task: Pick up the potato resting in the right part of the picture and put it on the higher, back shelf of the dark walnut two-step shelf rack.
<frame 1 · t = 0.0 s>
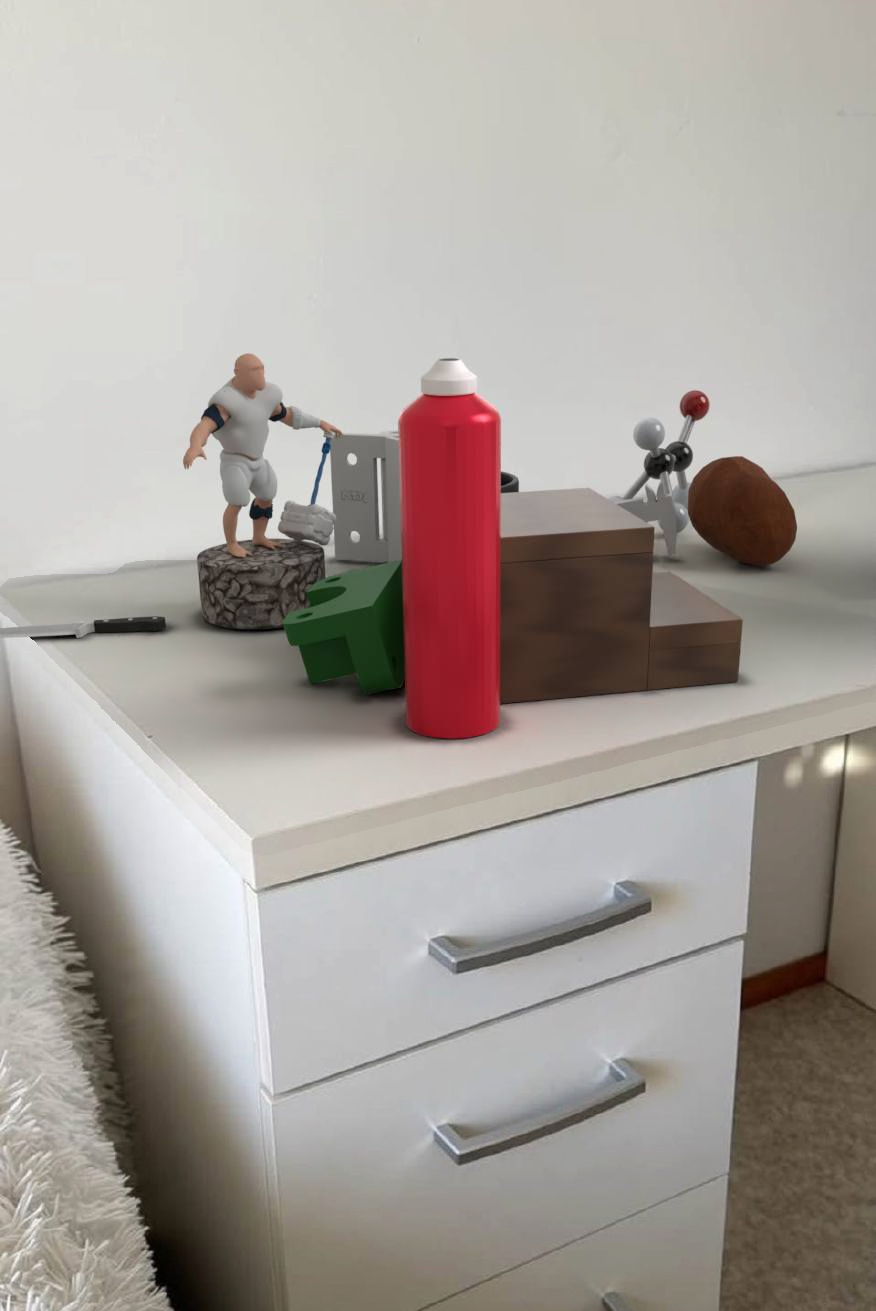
molecular model: (665, 521, 128), on the table
caliper: (550, 557, 117), on the table
step shelf: (584, 663, 92), on the table
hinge: (406, 569, 114), on the table
mug: (452, 621, 101), on the table
pottery shard: (509, 527, 127), on the table
clamp: (357, 673, 91), on the table
stylus pen: (612, 597, 106), on the table
knife: (56, 635, 98), on the table
figurine: (265, 616, 103), on the table
potato: (739, 556, 116), on the table
bottle: (453, 725, 82), on the table
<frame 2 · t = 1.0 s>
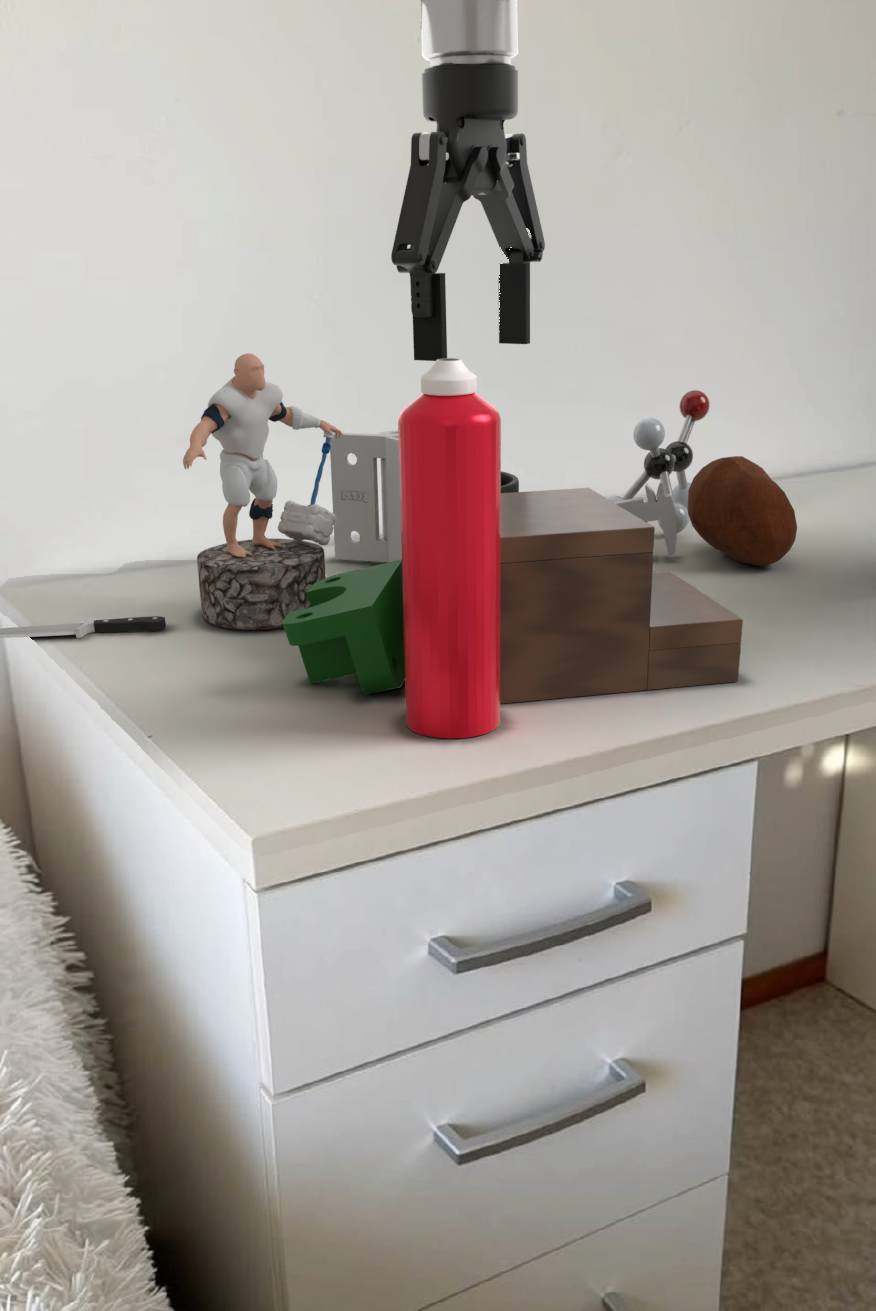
hand: (474, 351, 119), 15 cm above the table, tool pointing down, fingers open, 13 cm apart
nothing on the table moved.
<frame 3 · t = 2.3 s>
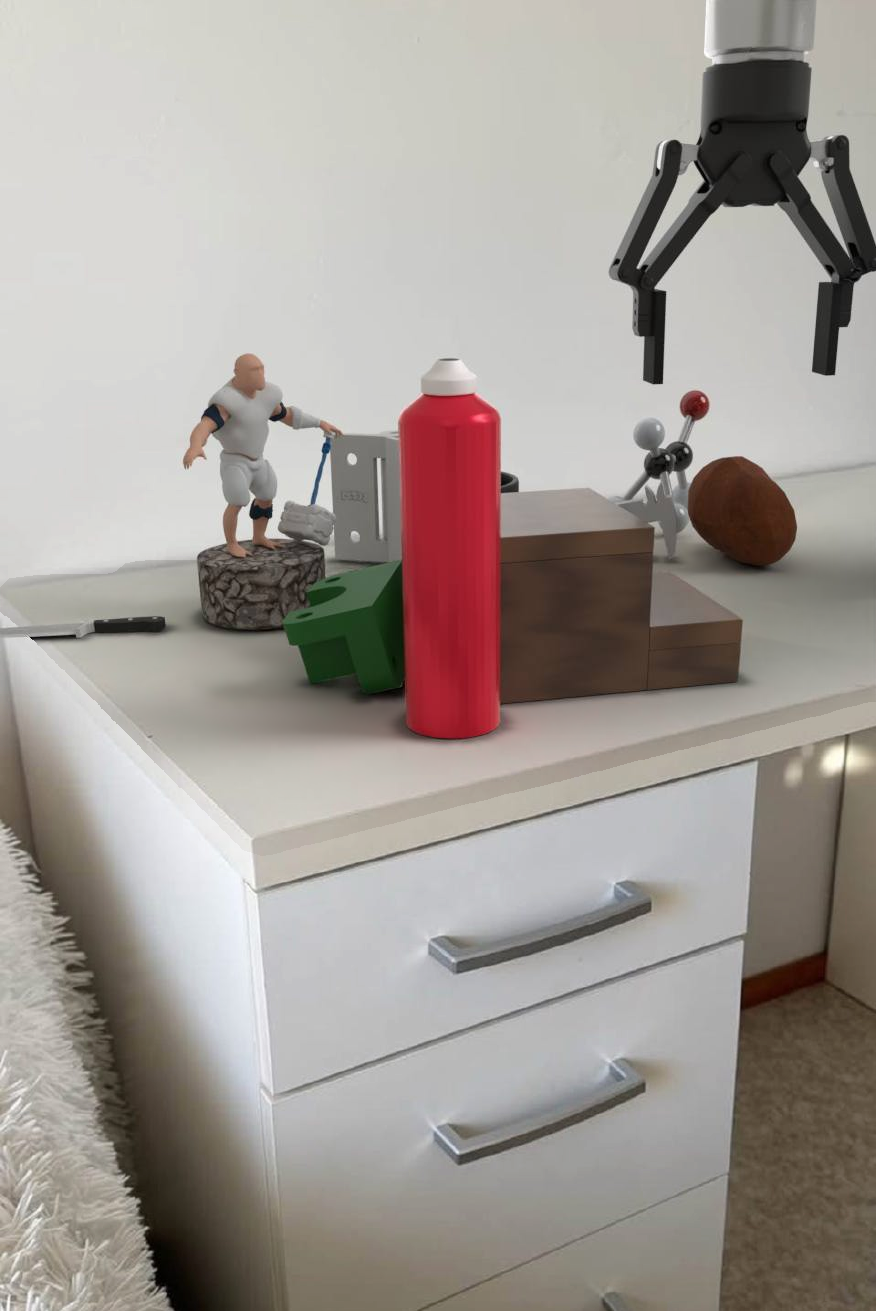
hand: (738, 378, 108), 14 cm above the table, tool pointing down, fingers open, 13 cm apart
nothing on the table moved.
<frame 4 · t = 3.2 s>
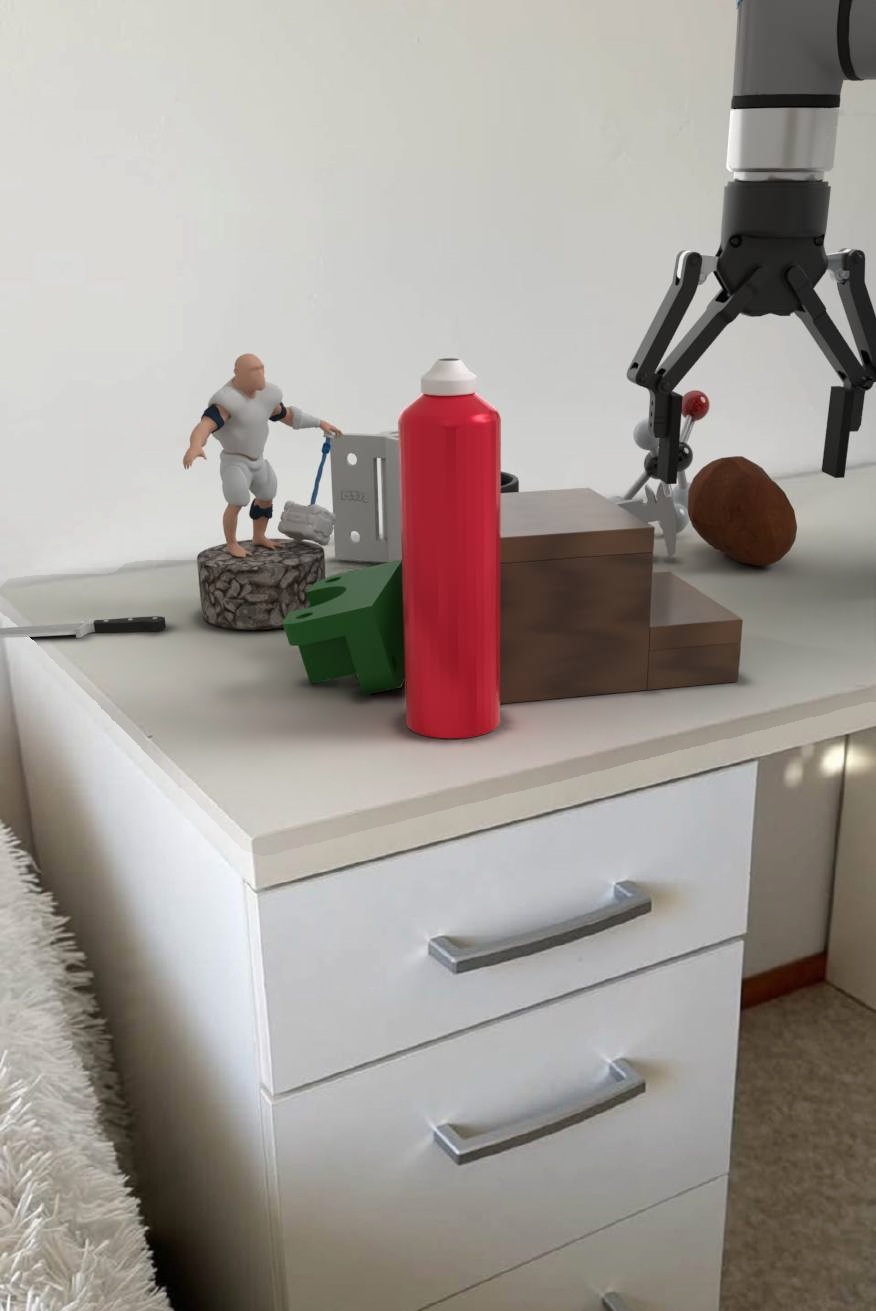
hand: (750, 477, 111), 7 cm above the table, tool pointing down, fingers open, 13 cm apart
nothing on the table moved.
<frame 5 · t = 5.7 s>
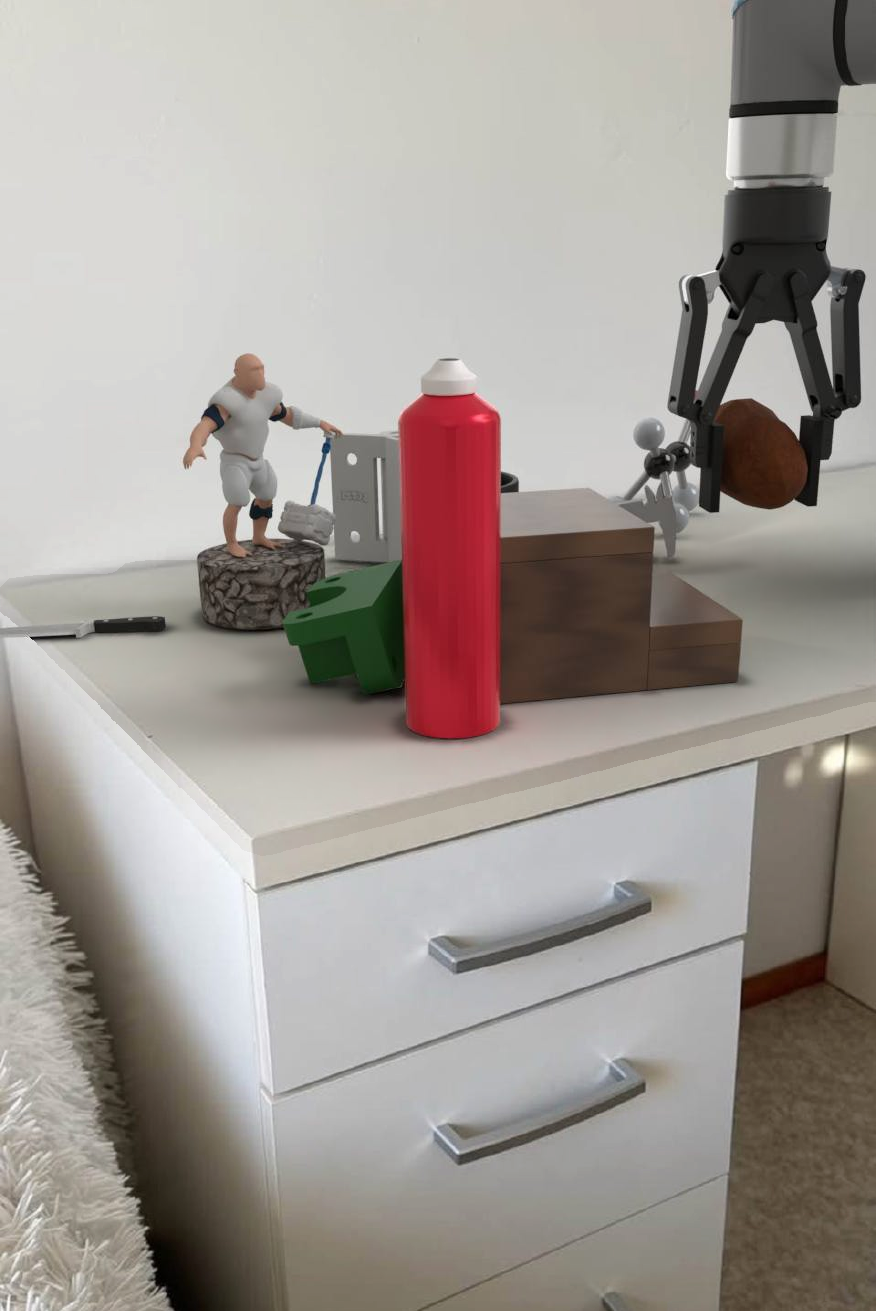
hand: (757, 505, 111), 5 cm above the table, tool pointing down, fingers closed on potato, 7 cm apart
potato: (749, 501, 114), point 4 cm above the table, touching gripper
everything else where it was.
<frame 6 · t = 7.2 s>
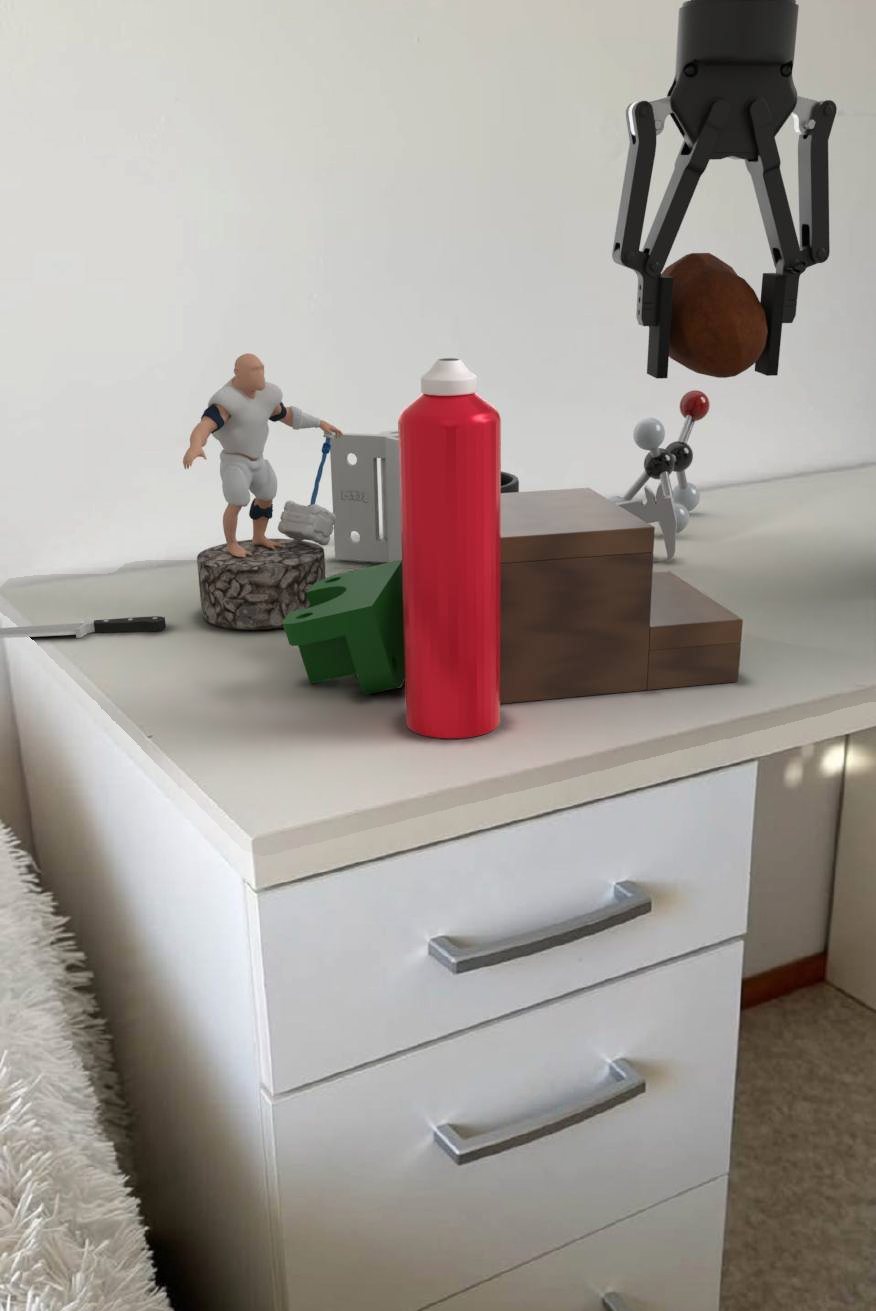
hand: (711, 373, 100), 16 cm above the table, tool pointing down, fingers closed on potato, 7 cm apart
potato: (705, 372, 103), point 15 cm above the table, touching gripper
everything else where it was.
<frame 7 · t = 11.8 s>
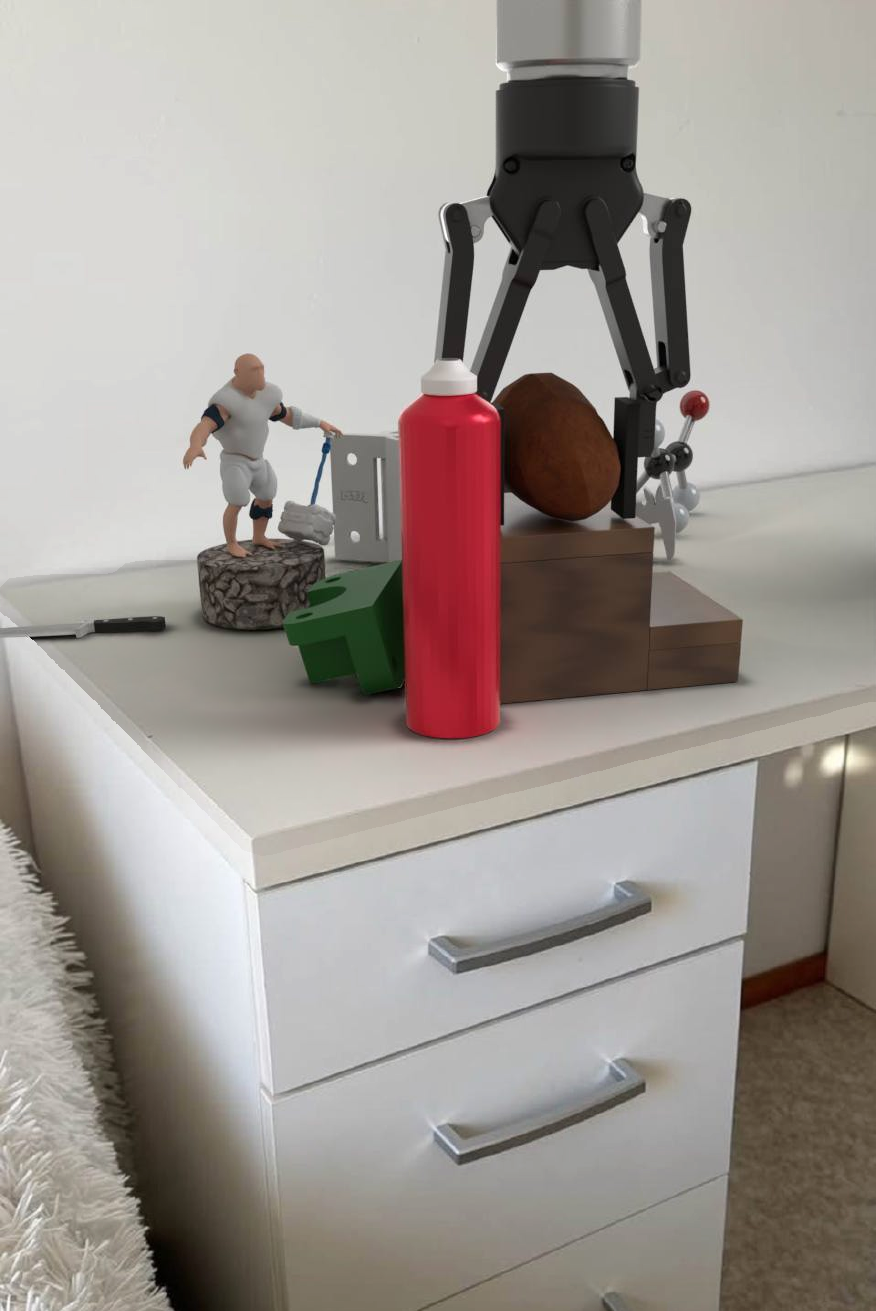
hand: (558, 516, 84), 10 cm above the table, tool pointing down, fingers closed on potato, 7 cm apart
potato: (554, 509, 87), point 10 cm above the table, touching gripper
everything else where it was.
when the fingers open (11 cm above the table, at t = 17.5 s): potato stays where it is, resting on step shelf.
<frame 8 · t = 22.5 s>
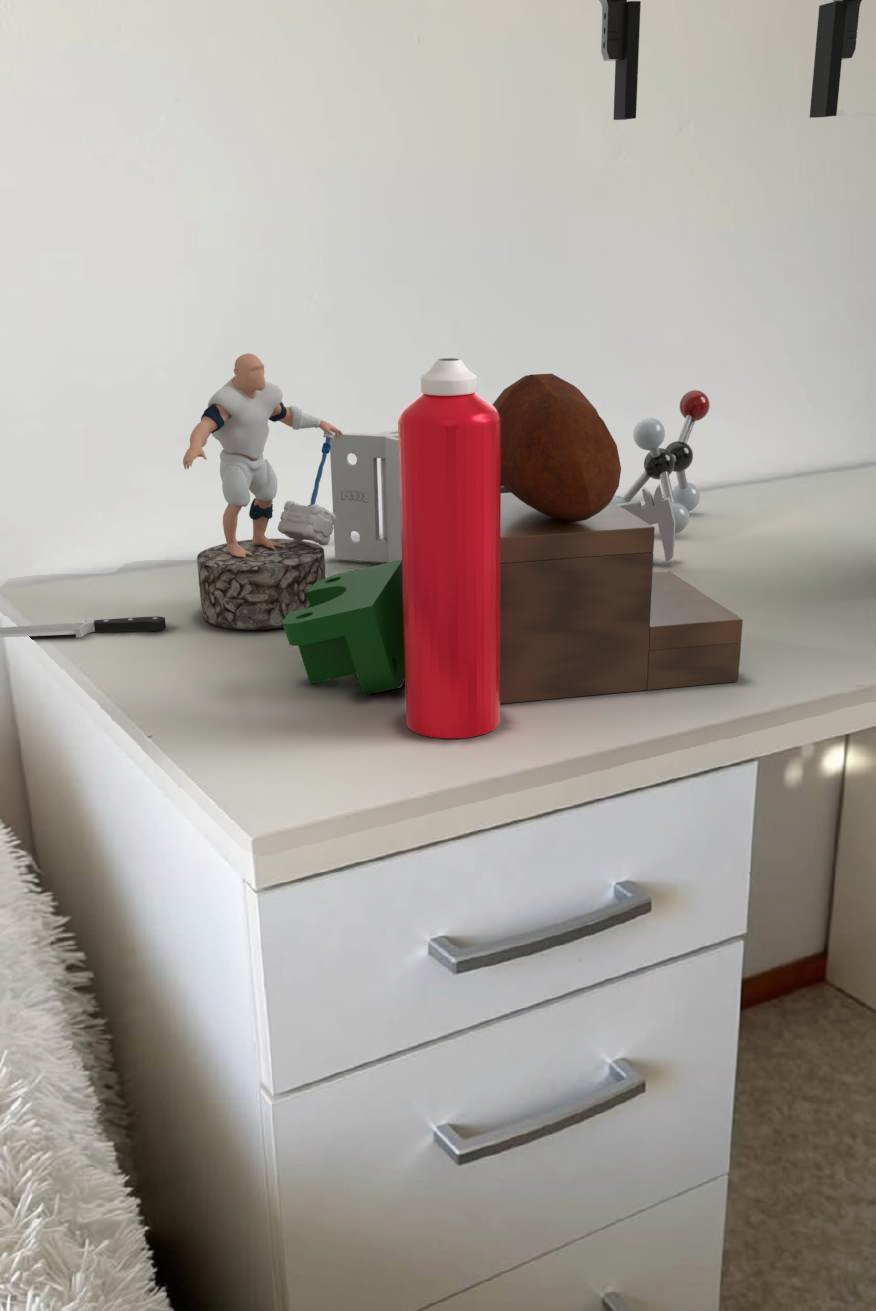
hand: (724, 118, 93), 32 cm above the table, tool pointing down, fingers open, 13 cm apart
potato: (555, 510, 87), point 10 cm above the table, touching step shelf
everything else where it was.
at the end: potato inside the target area on the step shelf (0.1 cm from its centre), point 10.0 cm above the step shelf's base; the gripper is holding nothing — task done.
